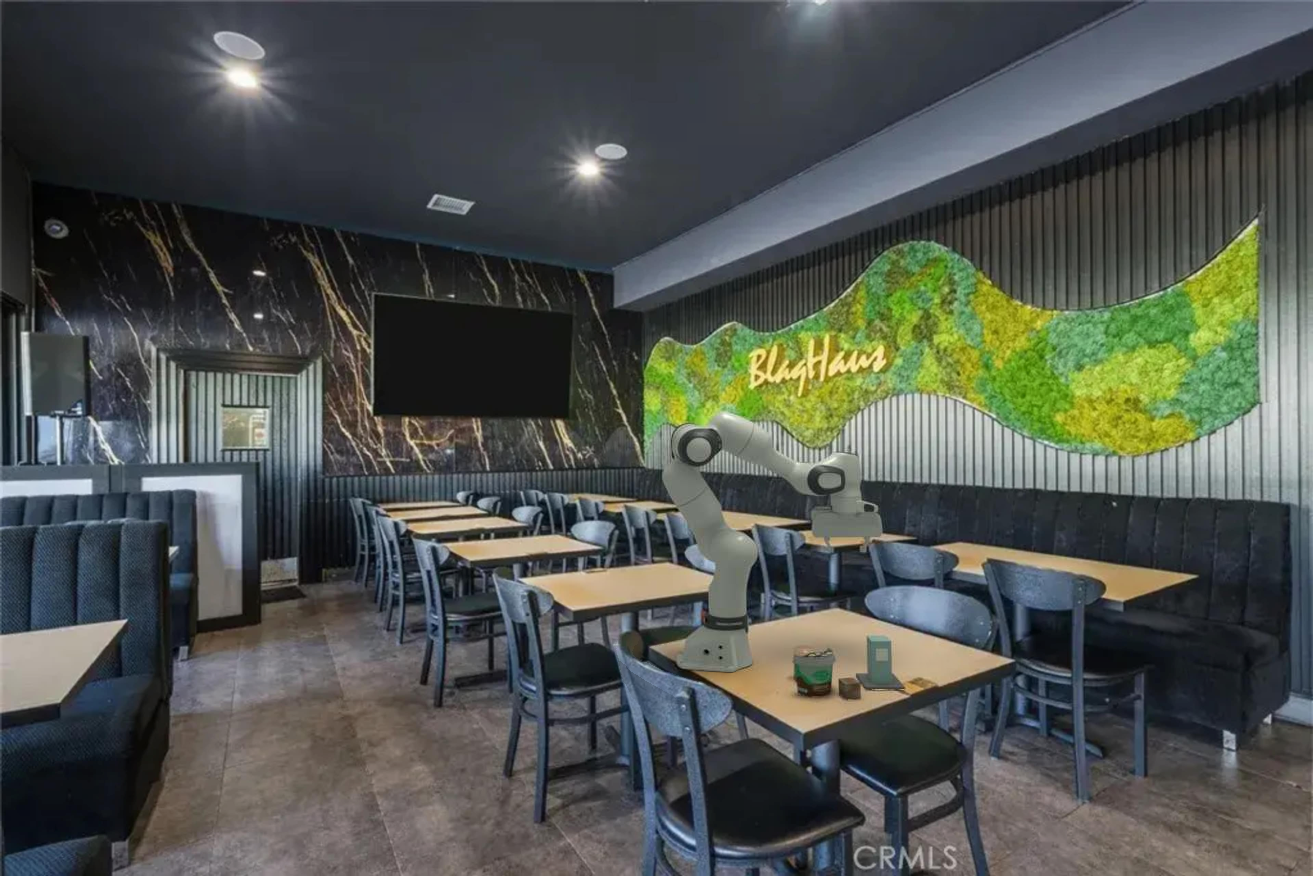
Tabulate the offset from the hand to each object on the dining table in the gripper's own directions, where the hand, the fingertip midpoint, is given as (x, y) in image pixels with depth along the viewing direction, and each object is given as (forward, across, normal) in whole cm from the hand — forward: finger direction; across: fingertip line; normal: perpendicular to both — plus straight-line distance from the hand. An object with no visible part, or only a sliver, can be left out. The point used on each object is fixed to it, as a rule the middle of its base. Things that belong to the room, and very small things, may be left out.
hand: (847, 552), depth 193 cm
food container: (+31, -14, -28) cm, 44 cm away
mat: (+31, +3, -21) cm, 38 cm away
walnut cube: (+31, -7, -30) cm, 44 cm away
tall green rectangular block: (+30, +3, -21) cm, 37 cm away
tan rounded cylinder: (+31, -16, -18) cm, 39 cm away
